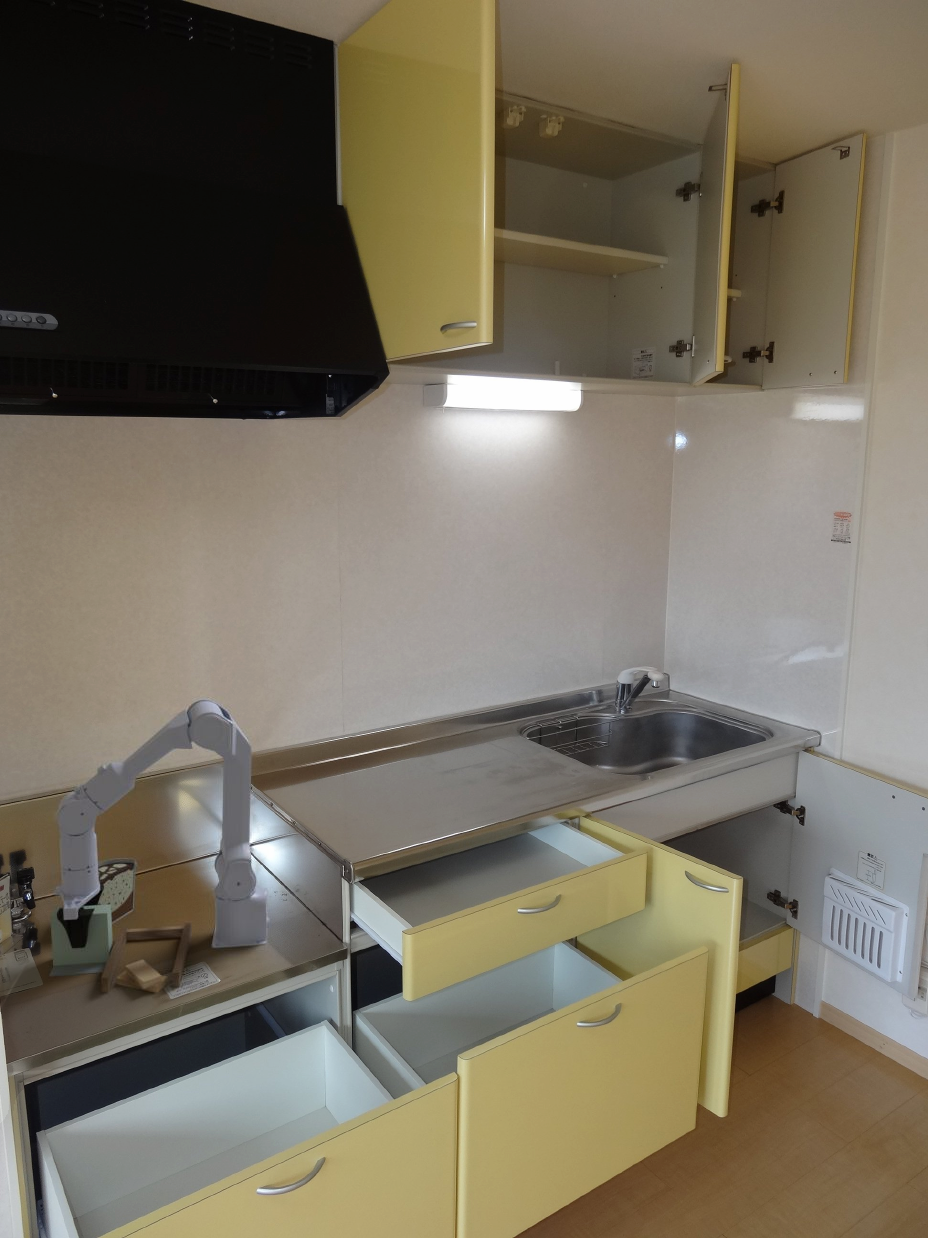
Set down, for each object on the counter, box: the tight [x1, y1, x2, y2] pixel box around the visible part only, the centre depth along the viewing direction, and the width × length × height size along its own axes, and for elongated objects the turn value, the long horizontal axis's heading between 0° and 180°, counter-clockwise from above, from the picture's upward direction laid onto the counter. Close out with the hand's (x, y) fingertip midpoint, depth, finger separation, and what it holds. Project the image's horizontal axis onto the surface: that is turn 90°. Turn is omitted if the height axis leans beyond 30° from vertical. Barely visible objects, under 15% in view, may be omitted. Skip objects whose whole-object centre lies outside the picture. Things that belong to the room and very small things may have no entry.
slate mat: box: [48, 943, 114, 977], centre depth 153 cm, size 9×9×1 cm
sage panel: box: [49, 905, 114, 966], centre depth 152 cm, size 9×3×9 cm, turn 100°
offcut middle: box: [116, 970, 169, 994], centre depth 147 cm, size 8×3×1 cm, turn 73°
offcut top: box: [124, 959, 162, 989], centre depth 146 cm, size 7×3×1 cm, turn 45°
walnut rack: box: [100, 922, 193, 994], centre depth 153 cm, size 12×17×3 cm
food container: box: [98, 857, 139, 925], centre depth 167 cm, size 12×6×10 cm, turn 159°
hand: (83, 938), depth 152 cm, fingers open, 5 cm apart
